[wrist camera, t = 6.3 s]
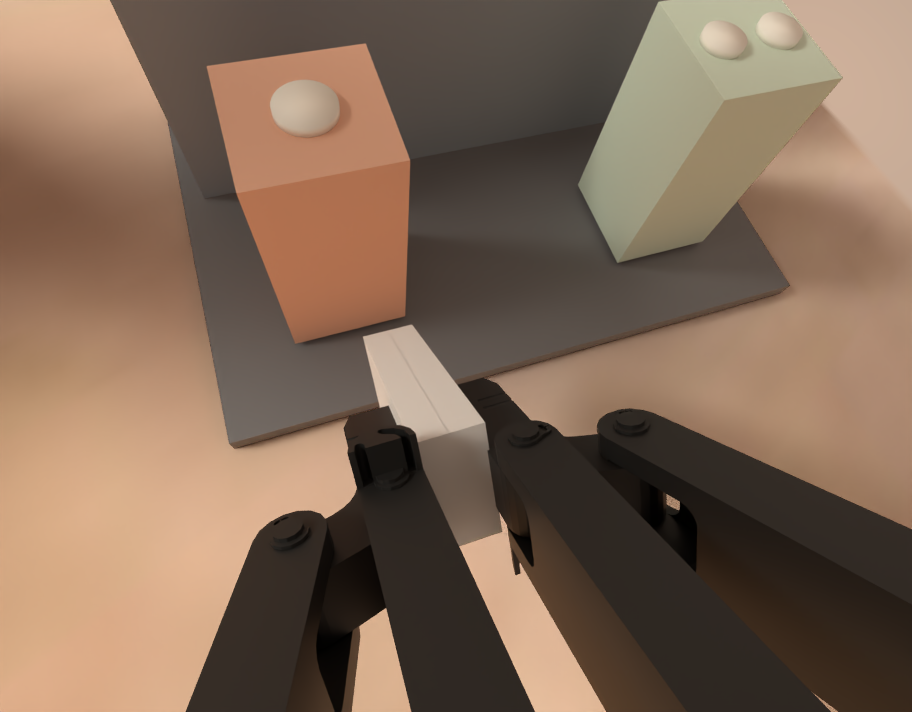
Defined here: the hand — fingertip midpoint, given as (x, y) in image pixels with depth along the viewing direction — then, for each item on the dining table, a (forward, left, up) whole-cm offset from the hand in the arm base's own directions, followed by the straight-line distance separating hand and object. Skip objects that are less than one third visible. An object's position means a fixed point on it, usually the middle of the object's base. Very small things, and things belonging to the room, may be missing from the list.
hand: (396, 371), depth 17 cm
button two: (+16, -6, -7) cm, 19 cm away
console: (+14, +2, -8) cm, 16 cm away
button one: (+5, +6, -7) cm, 10 cm away
